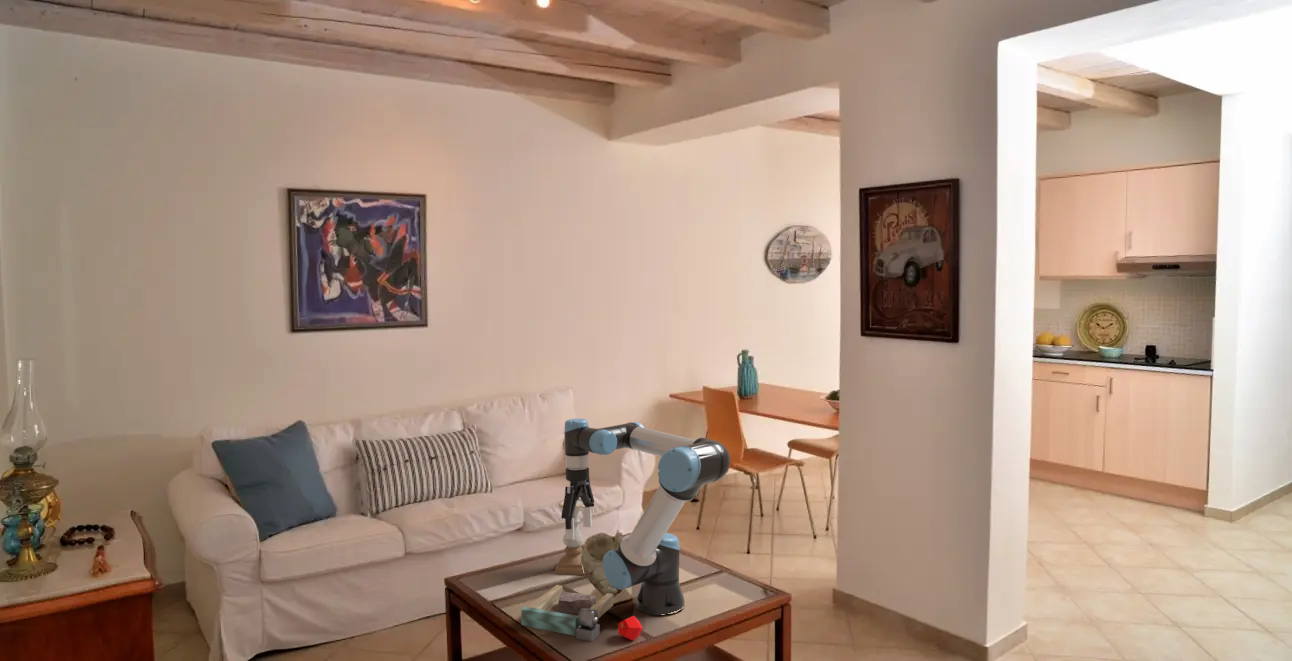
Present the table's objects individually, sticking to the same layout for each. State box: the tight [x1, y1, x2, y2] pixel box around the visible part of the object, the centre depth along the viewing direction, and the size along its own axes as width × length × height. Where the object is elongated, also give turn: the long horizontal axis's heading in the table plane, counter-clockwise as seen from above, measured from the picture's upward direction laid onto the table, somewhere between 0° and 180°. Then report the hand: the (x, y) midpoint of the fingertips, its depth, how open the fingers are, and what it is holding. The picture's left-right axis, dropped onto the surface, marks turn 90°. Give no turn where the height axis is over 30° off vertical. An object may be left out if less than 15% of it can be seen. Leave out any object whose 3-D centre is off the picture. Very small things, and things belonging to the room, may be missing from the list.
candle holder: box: [554, 498, 585, 576], centre depth 292 cm, size 11×11×24 cm
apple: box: [617, 615, 644, 641], centre depth 238 cm, size 7×7×8 cm
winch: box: [575, 608, 601, 642], centre depth 239 cm, size 6×5×8 cm
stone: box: [556, 591, 597, 614], centre depth 259 cm, size 9×12×5 cm
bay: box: [520, 584, 614, 637], centre depth 254 cm, size 20×24×5 cm
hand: (578, 532), depth 267 cm, fingers open, 13 cm apart
